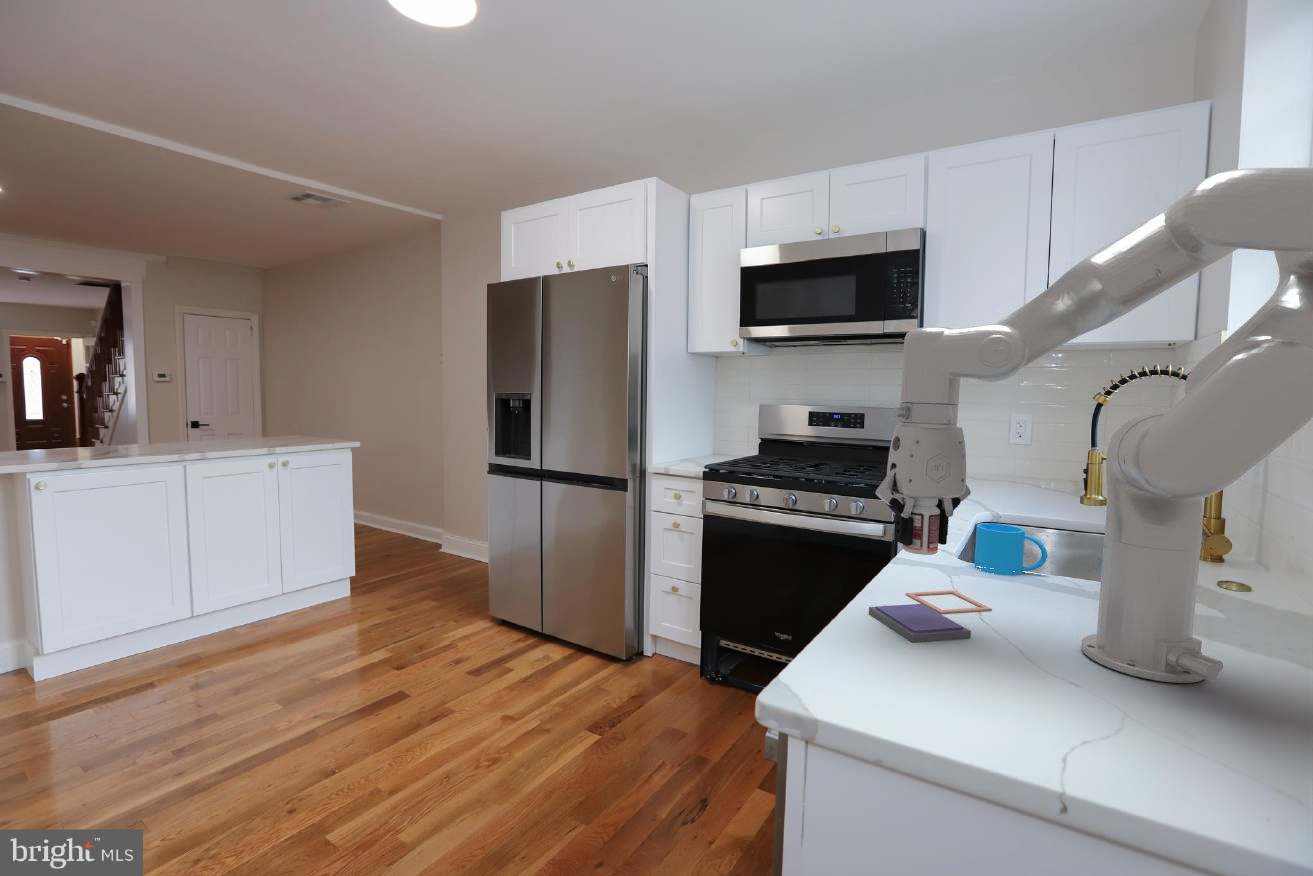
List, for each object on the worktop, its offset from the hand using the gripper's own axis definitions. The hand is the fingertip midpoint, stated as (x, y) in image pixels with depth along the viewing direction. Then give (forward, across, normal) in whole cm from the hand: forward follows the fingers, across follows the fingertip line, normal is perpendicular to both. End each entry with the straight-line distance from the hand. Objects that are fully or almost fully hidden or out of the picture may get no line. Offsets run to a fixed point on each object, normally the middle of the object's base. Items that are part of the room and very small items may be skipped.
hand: (920, 541), depth 90 cm
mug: (+12, +35, +22) cm, 43 cm away
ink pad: (+12, 0, 0) cm, 12 cm away
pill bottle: (+2, 0, 0) cm, 2 cm away
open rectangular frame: (+12, +11, +8) cm, 18 cm away
